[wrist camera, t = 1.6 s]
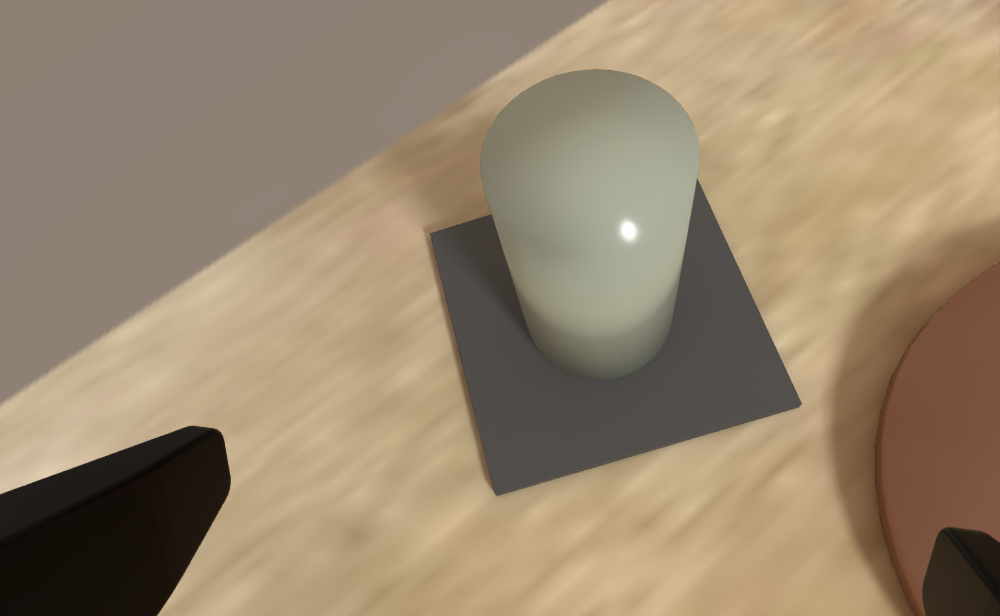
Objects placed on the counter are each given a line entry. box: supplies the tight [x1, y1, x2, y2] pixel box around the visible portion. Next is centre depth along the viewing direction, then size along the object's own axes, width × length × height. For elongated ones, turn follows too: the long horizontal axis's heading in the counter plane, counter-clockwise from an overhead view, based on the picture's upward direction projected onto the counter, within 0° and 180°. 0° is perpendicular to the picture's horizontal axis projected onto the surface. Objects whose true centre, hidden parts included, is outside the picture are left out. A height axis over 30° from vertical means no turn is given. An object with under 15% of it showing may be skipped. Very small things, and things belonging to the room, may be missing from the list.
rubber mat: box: [430, 179, 802, 496], centre depth 25 cm, size 10×10×1 cm
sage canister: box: [480, 69, 700, 380], centre depth 20 cm, size 5×5×9 cm
